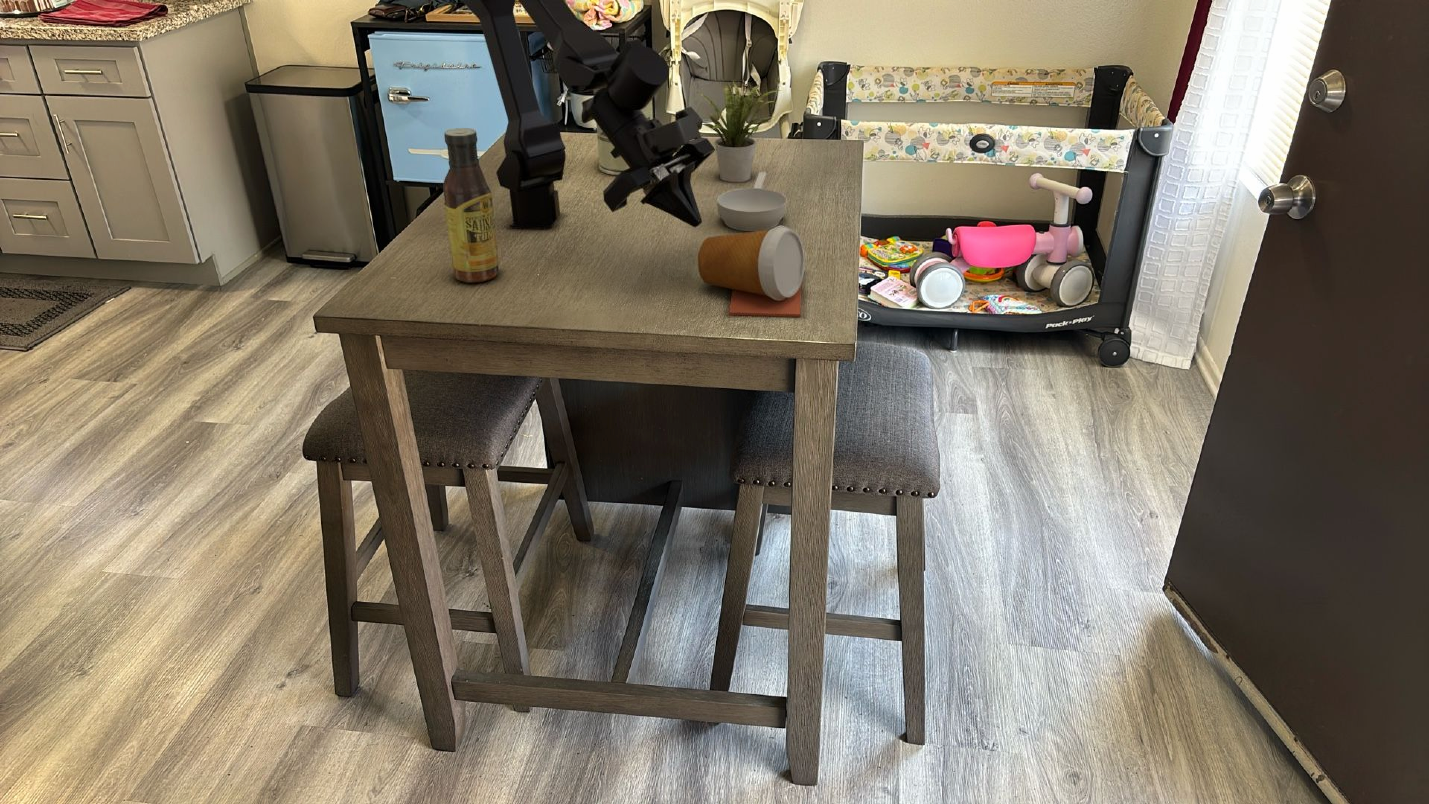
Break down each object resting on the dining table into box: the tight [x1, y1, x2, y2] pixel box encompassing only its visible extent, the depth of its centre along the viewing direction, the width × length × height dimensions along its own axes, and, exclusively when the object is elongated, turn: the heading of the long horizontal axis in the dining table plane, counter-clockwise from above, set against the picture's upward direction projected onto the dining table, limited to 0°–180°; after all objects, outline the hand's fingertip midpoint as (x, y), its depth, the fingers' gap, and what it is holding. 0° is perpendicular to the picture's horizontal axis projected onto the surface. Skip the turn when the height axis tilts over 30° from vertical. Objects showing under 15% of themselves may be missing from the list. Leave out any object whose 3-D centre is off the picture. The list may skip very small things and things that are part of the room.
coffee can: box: [592, 88, 654, 176], centre depth 173 cm, size 10×10×14 cm
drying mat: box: [728, 284, 802, 318], centre depth 131 cm, size 9×14×1 cm, turn 175°
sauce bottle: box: [442, 127, 499, 284], centre depth 131 cm, size 6×6×20 cm
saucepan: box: [716, 171, 788, 232], centre depth 156 cm, size 11×18×4 cm, turn 170°
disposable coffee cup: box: [697, 225, 806, 301], centre depth 128 cm, size 10×10×12 cm
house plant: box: [695, 80, 782, 183], centre depth 167 cm, size 14×14×16 cm
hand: (698, 224), depth 130 cm, fingers closed
